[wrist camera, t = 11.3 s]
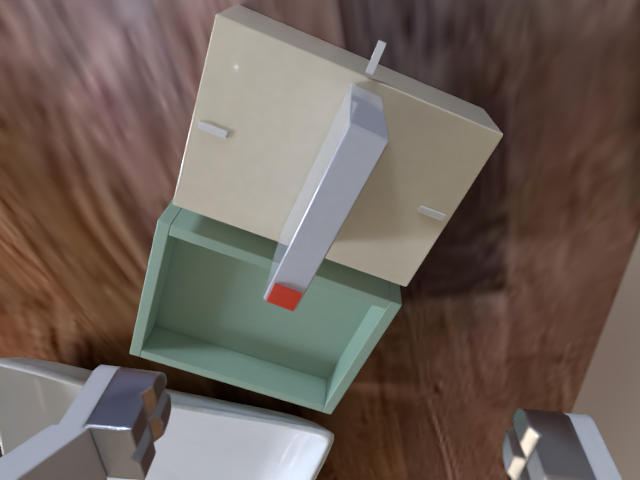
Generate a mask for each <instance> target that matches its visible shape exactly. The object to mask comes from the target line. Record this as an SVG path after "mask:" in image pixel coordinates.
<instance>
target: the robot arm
mask: <svg viewBox="0 0 640 480" xmlns="http://www.w3.org/2000/svg"><path fill="white" fill-rule="evenodd" d="M166 384H167V378H166V374H165V373H164V372H157V371H149V370H142V369H134V368H126V367H118V366H109V365H99V366H98V367H97V368H96V369H95V370H93V372H92V374H91V375H90V377H89V378H88V380H87V381H86V383H85V384H84V386H83V387H82V389H81V390H80V392H79V394H78V395H77V397H76V398H75V400H74V401H73V403H72V404H71V406H70V407H69V409H68V410H67V412H66V413H65V415H64V417H63V418H62V420H61V421H60V423H59V424H58V425H56V424H51V425H50V426H48V427H47V428H45V429H44V430H42V431H41V432H39V433H38V434H36V435H34V436H33V437H31V438H30V439H28V440H27V441H25V442H24V443H22V444H21V445H19V446H18V447H16V448H15V449H13V450H12V451H10V452H8V453H7V454H5V455H4V456H2V457H1V458H0V480H107V477H109V478H121V479H133V480H145V478H146V476H147V474H148V471H149V469H150V467H151V464H152V462H153V460H154V457H155V455H156V449H155V445H154V442H156V441H157V440H158V439H159V438H161V437H162V436H163V435H164V433H165V431H166V428H167V426H168V423H169V418H170V414H171V397H170V394H169V393H168V392H167V391H166V390H165V387H166ZM512 420H513V423H514V426H513V427H511V428H510V429H508V430H507V431H506V433H505V436H504V439H503V448H502V454H503V462H504V466H505V470H506V473H507V474H508V475H509V476H510V477H511V479H512V480H622V478H621V476H620V474H619V472H618V470H617V468H616V466H615V464H614V462H613V460H612V457H611V455H610V453H609V452H608V449H607V447H606V445H605V443H604V441H603V439H602V437H601V435H600V433H599V431H598V429H597V427H596V425H595V422H594V420H593V419H592V418H591V417H590V416H588V415H581V414H571V413H563V412H556V411H545V410H534V409H522V408H519V409H517V410H516V411H515V413H514V415H513V417H512Z"/></svg>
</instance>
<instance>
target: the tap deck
mask: <svg viewBox="0 0 640 480" xmlns="http://www.w3.org/2000/svg"><path fill="white" fill-rule="evenodd" d="M385 46H386V43H385V42H383V41H381V40H378V43H377V45H376V47H375V50H374V52H373V54H372V57H371V59H370V60H368V59H365V58H363V57H361V56H358V55H356V54H354V53H351V52H349V51H347V50H344V49H342V48H340V47H337V46H335V45H332V44H330V43H328V42H325V41H323V40H321V39H318V38H316V37H314V36H311V35H309V34H307V33H304V32H302V31H300V30H297V29H295V28H293V27H290V26H288V25H286V24H283V23H281V22H278V21H276V20H274V19H271V18H269V17H267V16H264V15H262V14H260V13H257V12H255V11H253V10H250V9H248V8H246V7H243V6H241V5H239V4H236V5H234V6H232V7H230V8H228V9H226V10H224V11H222V12H220V13H218V14H216V16H215V21H214V25H213V29H212V34H211V38H210V43H209V47H208V51H207V56H206V60H205V64H204V69H203V73H202V77H201V82H200V86H199V90H198V95H197V99H196V104H195V108H194V112H193V117H192V121H191V125H190V130H189V134H188V138H187V143H186V147H185V152H184V156H183V160H182V165H181V169H180V173H179V178H178V182H177V186H176V191H175V195H174V199H173V205H175V206H178V207H181V208H184V209H187V210H190V211H192V212H195V213H198V214H201V215H204V216H207V217H209V218H212V219H215V220H218V221H221V222H224V223H226V224H229V225H232V226H235V227H238V228H241V229H243V230H246V231H249V232H252V233H255V234H258V235H260V236H263V237H266V238H269V239H272V240H275V241H277V242H278V240H279V236H280V233H281V231H282V229H283V227H284V225H285V223H286V220H287V218H288V216H289V214H290V212H291V210H292V208H293V206H294V203H295V201H296V199H297V197H298V195H299V193H300V191H301V189H302V186H303V184H304V182H305V180H306V178H307V176H308V174H309V172H310V169H311V167H312V165H313V163H314V161H315V159H316V157H317V154H318V152H319V150H320V148H321V146H322V144H323V142H324V140H325V137H326V135H327V133H328V131H329V129H330V127H331V125H332V123H333V120H334V118H335V116H336V114H337V112H338V110H339V108H340V106H341V103H342V101H343V99H344V97H345V95H346V93H347V91H348V88H349V86H350V85H351V84H354V85H356V86H358V87H360V88H363V89H365V90H367V91H369V92H371V93H373V94H375V95H377V96H379V97H381V98H382V101H383V107H384V113H385V119H386V125H387V131H388V137H389V144H388V145H387V147H386V149H385V151H384V153H383V154H382V156H381V158H380V160H379V162H378V163H377V165H376V167H375V169H374V171H373V172H372V174H371V176H370V178H369V180H368V181H367V183H366V185H365V187H364V188H363V190H362V192H361V194H360V196H359V197H358V199H357V201H356V203H355V205H354V206H353V208H352V210H351V212H350V214H349V215H348V217H347V219H346V221H345V223H344V224H343V226H342V228H341V230H340V232H339V233H338V235H337V237H336V239H335V241H334V242H333V244H332V246H331V248H330V250H329V251H328V253H327V255H326V257H325V258H326V259H328V260H331V261H334V262H337V263H340V264H343V265H345V266H348V267H351V268H354V269H357V270H360V271H362V272H365V273H368V274H371V275H374V276H377V277H379V278H382V279H385V280H388V281H391V282H394V283H396V284H399V285H402V286H405V287H407V285H408V284H409V282H410V281H411V279H412V278H413V276H414V274H415V273H416V271H417V270H418V268H419V267H420V265H421V263H422V262H423V260H424V259H425V257H426V256H427V254H428V253H429V251H430V249H431V248H432V246H433V245H434V243H435V242H436V240H437V238H438V237H439V235H440V234H441V232H442V231H443V229H444V227H445V226H446V224H447V223H448V221H449V220H450V218H451V216H452V215H453V213H454V212H455V210H456V209H457V207H458V206H459V204H460V202H461V201H462V199H463V198H464V196H465V195H466V193H467V191H468V190H469V188H470V187H471V185H472V184H473V182H474V180H475V179H476V177H477V176H478V174H479V173H480V171H481V170H482V168H483V166H484V165H485V163H486V162H487V160H488V159H489V157H490V155H491V154H492V152H493V151H494V149H495V148H496V146H497V144H498V143H499V141H500V140H501V138H502V137H503V134H502V132H501V131H500V130H499V128H498V127H497V126H496V124H495V123H494V122H493V120H492V119H491V118H490V117H489V115H488V114H487V113H486V111H485V110H484V109H483V108H480V107H478V106H476V105H473V104H471V103H469V102H466V101H464V100H462V99H459V98H457V97H455V96H452V95H450V94H448V93H445V92H443V91H440V90H438V89H436V88H433V87H431V86H429V85H426V84H424V83H422V82H419V81H417V80H415V79H412V78H410V77H408V76H405V75H403V74H401V73H398V72H396V71H394V70H391V69H389V68H386V67H384V66H382V65H379V64H378V62H379V60H380V58H381V55H382V53H383V51H384V48H385Z"/></svg>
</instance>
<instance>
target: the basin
mask: <svg viewBox="0 0 640 480" xmlns="http://www.w3.org/2000/svg"><path fill="white" fill-rule="evenodd" d="M173 199H174V198H173ZM277 244H278V242H277V241H275V240H272V239H269V238H266V237H263V236H260V235H258V234H255V233H252V232H249V231H246V230H243V229H241V228H238V227H235V226H232V225H229V224H226V223H224V222H221V221H218V220H215V219H212V218H209V217H207V216H204V215H201V214H198V213H195V212H192V211H190V210H187V209H184V208H181V207H178V206H175V205H173V200H172V201H171V203H170V204H169V205H168V207H167V208H166V210H165V211H164V212H163V214H162V215H161V216H160V218H159V219H158V221H157V226H156V230H155V235H154V240H153V244H152V249H151V254H150V258H149V263H148V268H147V273H146V277H145V282H144V287H143V291H142V296H141V301H140V305H139V310H138V315H137V319H136V324H135V329H134V334H133V338H132V343H131V348H130V352H129V353H130V354H132V355H135V356H138V357H141V358H145V359H148V360H151V361H155V362H158V363H161V364H165V365H168V366H171V367H175V368H178V369H181V370H185V371H188V372H191V373H195V374H198V375H201V376H205V377H208V378H211V379H214V380H218V381H221V382H224V383H228V384H231V385H234V386H238V387H241V388H244V389H248V390H251V391H254V392H258V393H261V394H264V395H268V396H271V397H274V398H278V399H281V400H284V401H288V402H291V403H294V404H297V405H301V406H304V407H307V408H311V409H314V410H317V411H322V412H324V413H327V414H332V412H333V411H334V409H335V407H336V406H337V404H338V403H339V401H340V400H341V398H342V397H343V395H344V394H345V392H346V391H347V389H348V387H349V386H350V384H351V383H352V381H353V380H354V378H355V377H356V375H357V374H358V372H359V371H360V369H361V367H362V366H363V364H364V363H365V361H366V360H367V358H368V357H369V355H370V354H371V352H372V351H373V349H374V347H375V346H376V344H377V343H378V341H379V340H380V338H381V337H382V335H383V334H384V332H385V331H386V329H387V328H388V326H389V324H390V323H391V321H392V320H393V318H394V317H395V315H396V314H397V312H398V311H399V309H400V308H401V306H402V300H401V292H400V285H399V284H396V283H394V282H391V281H388V280H385V279H382V278H379V277H377V276H374V275H371V274H368V273H365V272H362V271H360V270H357V269H354V268H351V267H348V266H345V265H343V264H340V263H337V262H334V261H331V260H328V259H326V258H325V259H324V260H323V262H322V264H321V266H320V268H319V269H318V271H317V273H316V275H315V276H314V278H313V280H312V282H311V284H310V285H309V287H308V289H307V291H306V293H305V294H304V296H303V298H302V300H301V302H300V303H299V305H298V307H297V309H296V310H295V311H290V310H288V309H285V308H282V307H280V306H277V305H274V304H272V303H269V302H267V301H266V300H264V298H263V297H264V293H265V289H266V286H267V282H268V278H269V274H270V270H271V267H272V263H273V259H274V255H275V251H276V248H277Z"/></svg>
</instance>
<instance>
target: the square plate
mask: <svg viewBox="0 0 640 480" xmlns="http://www.w3.org/2000/svg"><path fill="white" fill-rule="evenodd" d="M92 372H93V371H92V370H88V369H84V368H79V367H75V366H71V365H66V364H62V363H57V362H52V361H47V360H42V359H36V358H27V357H13V358H0V444H1V449H2V454H3V456H4V455H5V454H7V453H8V452H10V451H12V450H13V449H15V448H16V447H18V446H19V445H21V444H22V443H24V442H25V441H27V440H28V439H30V438H31V437H33V436H34V435H36V434H38V433H39V432H41V431H42V430H44V429H45V428H47V427H48V426H50V425H51V424H56V425H58V424H59V423H60V421H61V420H62V418H63V417H64V415H65V413H66V412H67V410H68V409H69V407H70V406H71V404H72V403H73V401H74V400H75V398H76V397H77V395H78V394H79V392H80V390H81V389H82V387H83V386H84V384H85V383H86V381H87V380H88V378H89V377H90V375H91V374H92ZM165 390H166V391H167V392H168V393H169V394H170V397H171V414H170V418H169V423H168V426H167V428H166V431H165V433H164V435H163V436H162V437H161V438H159V439H158V440H157V441H156V442H154V445H155V449H156V455H155V457H154V460H153V462H152V464H151V467H150V469H149V471H148V474H147V476H146V478H145V480H315V479H316V477H317V475H318V473H319V471H320V470H321V468H322V466H323V464H324V462H325V460H326V458H327V456H328V453H329V451H330V449H331V446H332V444H333V442H334V434H333V433H332V432H330V431H328V430H327V429H325V428H324V427H323V426H321V425H319V424H317V423H315V422H313V421H310V420H307V419H304V418H301V417H298V416H294V415H290V414H286V413H282V412H278V411H274V410H269V409H265V408H260V407H255V406H250V405H244V404H239V403H234V402H229V401H225V400H220V399H215V398H210V397H205V396H200V395H195V394H190V393H185V392H180V391H176V390H171V389H166V388H165ZM107 480H133V479H121V478H109V477H107Z"/></svg>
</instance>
